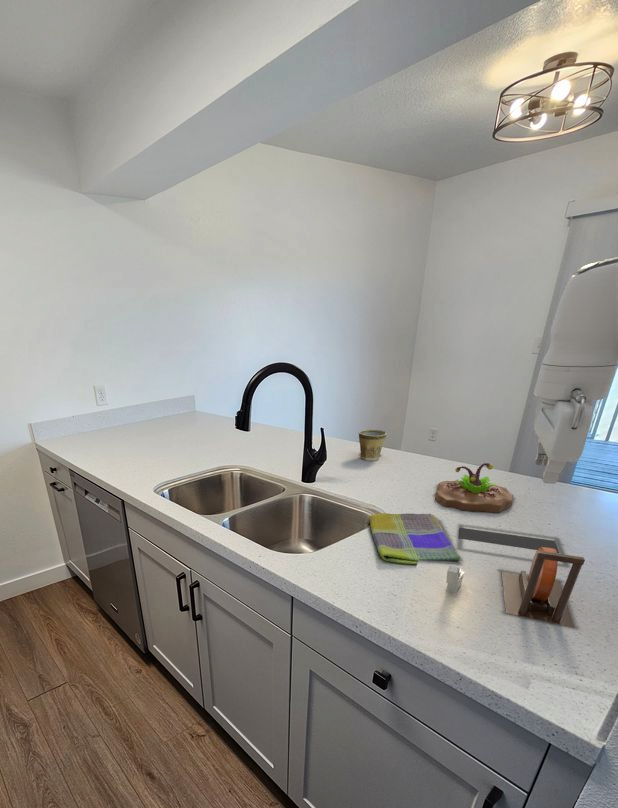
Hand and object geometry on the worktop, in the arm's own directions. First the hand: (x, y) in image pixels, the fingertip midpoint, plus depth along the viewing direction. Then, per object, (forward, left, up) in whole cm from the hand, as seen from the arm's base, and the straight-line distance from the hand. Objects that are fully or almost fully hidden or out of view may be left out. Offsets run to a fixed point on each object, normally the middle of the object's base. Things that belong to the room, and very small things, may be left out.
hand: (544, 472), depth 71 cm
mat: (-2, -25, -26) cm, 36 cm away
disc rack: (-5, -3, -26) cm, 27 cm away
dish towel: (+19, -21, -26) cm, 39 cm away
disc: (-5, -3, -25) cm, 26 cm away
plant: (+5, -55, -26) cm, 61 cm away
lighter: (+9, +1, -26) cm, 28 cm away
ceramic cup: (+40, -89, -26) cm, 101 cm away
